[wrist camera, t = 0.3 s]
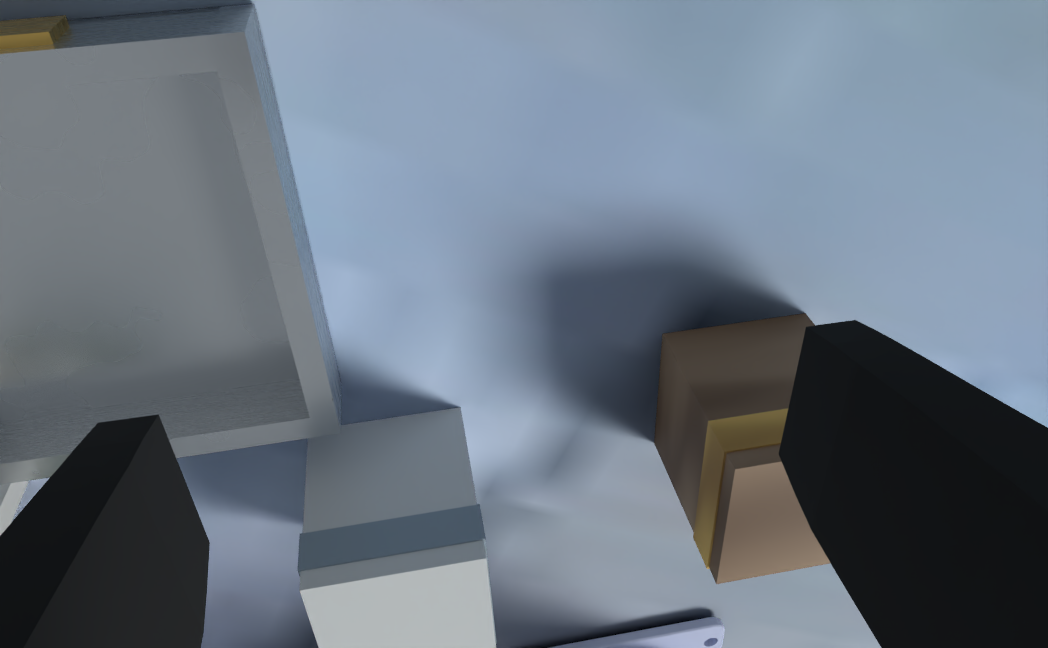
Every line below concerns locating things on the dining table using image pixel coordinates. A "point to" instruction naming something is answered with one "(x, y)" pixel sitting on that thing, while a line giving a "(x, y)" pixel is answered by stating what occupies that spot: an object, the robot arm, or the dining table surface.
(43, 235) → the parts tray
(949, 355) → the dining table surface
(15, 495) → the label plate
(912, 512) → the robot arm
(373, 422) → the grey block
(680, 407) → the walnut block
